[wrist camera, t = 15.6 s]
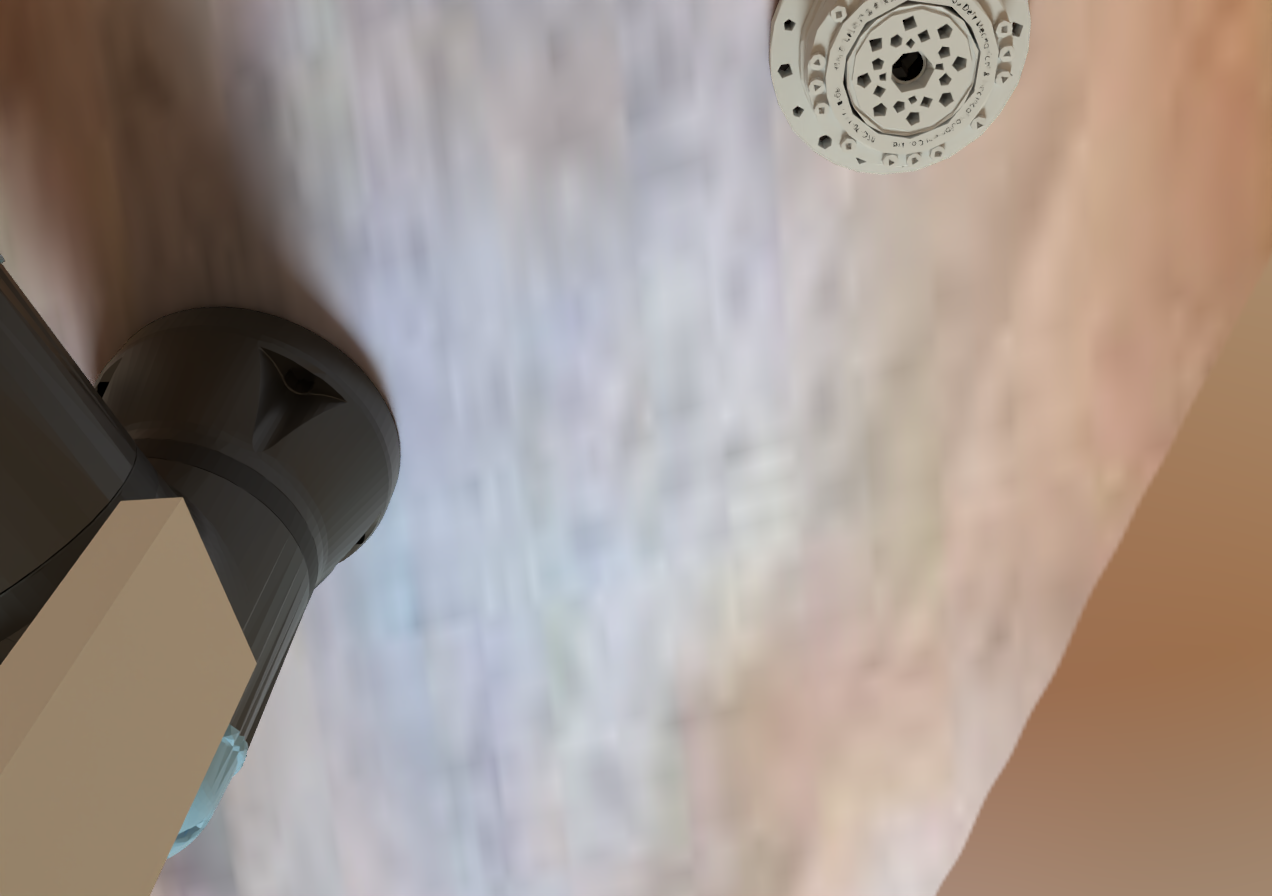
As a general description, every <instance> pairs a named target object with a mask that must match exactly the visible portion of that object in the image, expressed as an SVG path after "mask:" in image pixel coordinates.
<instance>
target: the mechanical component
mask: <svg viewBox="0 0 1272 896" xmlns="http://www.w3.org/2000/svg"><path fill="white" fill-rule="evenodd" d="M950 6H952V7H953V9H954V11H953V9H952V8H951V7H950ZM957 12H958V14H959V16H960V17H959V16H958V14H957ZM906 18H908V19H907V21H906V22H905V23H903V21H902V20H904V19H906ZM788 19H790V20H791V22H790V24H789V25H787V24H784V23H785V22H786V21H787V20H788ZM1013 22H1015V25H1014V27H1012V24H1013ZM1030 27H1031V19H1030V12H1029V5H1028V0H780V1H779V3H778V6H777V8H776V11H775V13H774V16H773V18H772V21H771V34H770V51H769V65H770V72H771V78H772V82H773V86H774V90H775V94H776V97H777V101H778V104H779V106H780V108H781V110H782V111H783V113H784V115H785V117H786V119H787V121H788V122H789V124H790V126H791V128H792V130H793V131H794V132H795V133H796V134H797V135H798V136H799V137H800V138H801V139H802V140H803V141H804V142H805V143H806V144H807V145H808V146H809V147H810V148H811V149H812V150H813V151H814V152H815V153H817V154H819V155H820V156H822V157H824V158H825V159H827V160H829V161H831V162H832V163H834V164H836V165H839V166H842V167H845V168H848V169H851V170H854V171H857V172H862V173H872V174H883V175H885V174H893V173H902V172H911V171H917V170H919V169H922V168H924V167H927V166H929V165H932V164H934V163H937V162H940V161H942V160H945V159H947V158H949V157H951V156H952V155H954V154H955V153H957V152H958V151H959V150H961V149H962V148H964V147H965V146H967V145H968V144H970V143H971V142H973V141H974V140H975V139H977V138H978V137H980V136H981V135H982V134H983V133H984V131H985V130H986V129H987V128H988V127H989V126H990V125H991V123H992V122H993V121H994V120H995V119H996V118H997V116H998V115H999V114H1000V113H1001V111H1002V109H1003V108H1004V106H1005V104H1006V103H1007V101H1008V99H1009V98H1010V96H1011V95H1012V93H1013V91H1014V90H1015V88H1016V86H1017V85H1018V82H1019V79H1020V76H1021V73H1022V69H1023V66H1024V63H1025V60H1026V56H1027V53H1028V49H1029V38H1030ZM939 28H940V30H939ZM1012 29H1013V30H1012ZM921 32H922V33H921ZM895 35H896V36H895ZM894 36H895V37H894ZM872 39H874V40H873V41H872V42H871V43H870V42H869V40H872ZM918 52H919V53H920V54H921V55H922V58H923V68H922V71H921V72H920V74H919V75H918V76H917V77H916V78H914V79H912V80H909V81H902V80H901V78H903V77H907V69H908V68H909V67H910V66H911V65H912V63H913V62H914V61H915V60H916V59H917V57H918ZM904 53H909V54H908V56H906V57H905V58H904V59H903V60H902V67H901V68H896V69H892V65H893V64H894V63H895V62H896V61H897V60H898V59H899V58H900V57H901V55H902V54H904ZM877 58H878V59H877ZM875 59H876V60H875ZM783 64H790V66H789V67H788V69H787V70H786V71H782V70H779V68H780V66H781V65H783ZM863 74H864V76H863V78H862V77H858V76H861V75H863ZM843 78H845V80H844V82H843ZM896 82H898V83H896ZM877 85H878V86H877ZM846 93H847V94H846ZM847 95H848V96H847ZM797 106H799V108H798V109H795V108H796V107H797ZM824 135H827V136H829V137H828V138H826V139H824V140H822V141H821V140H820V139H819V138H820V137H822V136H824Z"/></svg>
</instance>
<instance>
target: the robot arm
mask: <svg viewBox="0 0 1272 896" xmlns="http://www.w3.org/2000/svg"><path fill="white" fill-rule="evenodd" d="M3 262H5V259H4V258H3V257H2V255H1V254H0V896H150V894H151V892H152V889H153V887H154V885H155V883H156V881H157V879H158V876H159V874H160V872H161V870H162V868H163V866H164V863H165V861H166V859H168V858H170V857H172V856H173V855H175V854H177V853H178V852H180V851H181V850H183V849H184V848H185V847H187V846H188V845H189V844H190V843H191V842H192V841H193V840H194V839H196V838H197V836H198V835H199V834H200V833H201V832H202V830H203V829H204V828H205V827H206V825H207V824H208V822H209V820H210V819H211V817H212V815H213V813H214V811H215V809H216V807H217V806H218V804H219V802H220V800H221V798H222V796H223V794H224V792H225V790H226V788H227V786H228V784H229V782H230V781H231V779H232V777H233V776H234V775H235V774H236V773H237V772H238V771H239V770H240V769H241V767H242V766H243V763H244V761H245V758H246V756H247V755H246V754H247V751H248V748H249V746H250V743H251V741H252V738H253V736H254V733H255V731H256V728H257V726H258V724H259V721H260V719H261V716H262V714H263V711H264V709H265V706H266V704H267V702H268V699H269V697H270V694H271V692H272V689H273V687H274V684H275V682H276V680H277V677H278V675H279V672H280V670H281V667H282V665H283V662H284V660H285V658H286V655H287V653H288V650H289V648H290V645H291V643H292V640H293V638H294V636H295V633H296V631H297V628H298V626H299V623H300V621H301V618H302V616H303V613H304V611H305V609H306V607H307V604H308V602H309V600H310V598H311V595H312V593H313V590H314V589H315V588H316V587H317V586H318V585H319V584H320V583H321V582H322V581H324V580H325V578H326V577H327V576H328V575H329V574H330V573H331V572H332V571H333V569H334V568H335V566H336V565H337V564H338V563H340V562H341V561H343V560H345V559H346V558H348V557H349V556H350V555H352V554H353V553H354V552H355V551H357V550H358V549H359V548H360V547H361V546H362V545H363V544H364V543H365V542H366V541H367V540H368V539H369V538H370V536H371V535H372V534H373V532H374V531H375V530H376V528H377V527H378V525H379V524H380V522H381V520H382V518H383V516H384V514H385V512H386V510H387V507H388V504H389V502H390V499H391V497H392V494H393V492H394V489H395V486H396V483H397V480H398V475H399V469H400V446H399V439H398V435H397V431H396V427H395V424H394V421H393V418H392V416H391V414H390V411H389V409H388V407H387V405H386V403H385V401H384V400H383V398H382V397H381V395H380V393H379V392H378V390H377V389H376V387H375V386H374V385H373V383H372V382H371V381H370V380H369V378H368V377H367V376H366V375H365V374H364V373H363V371H362V370H361V369H360V368H359V367H358V366H357V365H356V364H355V363H354V362H353V361H352V360H350V359H349V358H348V357H347V356H346V355H345V354H343V353H342V352H341V351H340V350H338V349H337V348H336V347H334V346H333V345H332V344H330V343H329V342H327V341H326V340H324V339H323V338H321V337H319V336H318V335H316V334H314V333H312V332H311V331H309V330H307V329H305V328H303V327H301V326H299V325H296V324H294V323H291V322H289V321H287V320H284V319H281V318H278V317H275V316H272V315H268V314H265V313H261V312H256V311H252V310H245V309H239V308H228V307H209V308H197V309H191V310H185V311H181V312H177V313H174V314H171V315H168V316H165V317H163V318H160V319H158V320H156V321H154V322H152V323H151V324H149V325H147V326H145V327H144V328H143V329H141V330H140V331H138V332H137V333H136V334H135V335H134V336H133V337H131V338H130V339H129V340H128V342H127V343H126V344H125V345H124V346H123V347H122V348H121V349H120V350H119V351H118V353H117V354H116V355H115V356H114V357H113V358H112V359H111V360H110V362H109V363H108V364H107V365H106V366H105V368H104V369H103V370H102V372H101V374H100V375H99V377H98V379H97V381H96V382H95V384H94V387H93V386H92V384H91V383H90V382H89V380H88V379H87V377H86V376H85V375H84V373H83V372H82V371H81V369H80V368H79V367H78V365H77V364H76V363H75V361H74V360H73V359H72V357H71V356H70V355H69V353H68V352H67V351H66V349H65V348H64V347H63V345H62V344H61V343H60V341H59V340H58V339H57V337H56V336H55V335H54V333H53V332H52V331H51V329H50V328H49V327H48V325H47V324H46V322H45V321H44V320H43V318H42V317H41V316H40V314H39V313H38V312H37V310H36V309H35V308H34V306H33V305H32V304H31V302H30V301H29V300H28V298H27V297H26V296H25V294H24V293H23V292H22V290H21V289H20V288H19V286H18V285H17V284H16V282H15V281H14V280H13V278H12V277H11V276H10V274H9V273H8V271H7V270H6V269H5V267H4V266H3V265H2V263H3Z"/></svg>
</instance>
